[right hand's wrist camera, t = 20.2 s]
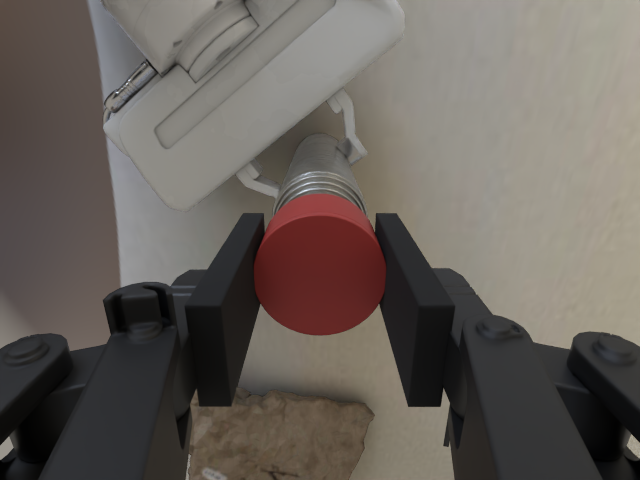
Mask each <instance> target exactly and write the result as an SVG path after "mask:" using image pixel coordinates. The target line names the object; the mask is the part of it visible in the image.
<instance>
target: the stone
mask: <svg viewBox="0 0 640 480" xmlns="http://www.w3.org/2000/svg"><path fill="white" fill-rule="evenodd" d="M190 407H191V413H192V420H193V422H192V430H191V438H190V446H189V454H190V455H191V458H190V466H191V467H189V469H188V473H189V480H349V478H350V475H351V473H352V471H353V469H354V468H355V466H356V465H357V463H358V461H359V458H360V456H361V454H362V452H363V450H364V442H363V441H364V438H365V435H366V431H367V427H368V425H369V422H370V421H372V420H373V418H374V416H375V415H374V413H373V412H372V411H371V410H370V409H369V408H368V406H367V405H366V404H365V403H356V402H351V403H339V402H336V401H334V400H329V399H328V398H326V397H321V396H317V397H315V396H308V397H305V396H299V395H295V394H294V393H285V392H280V391H278V390H273V391H272V390H271V391H269V392H268V393H267V394H266V395H265V396H259V395H251V394H250V392H248V391H247V390H245V389H243V388H238V387H237V389H236V392H235V396H234V399H233V403H232V407H199V402H198V395H197V389H196V391H195V393H194V396H193V398H192V401H191V403H190Z"/></svg>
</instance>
